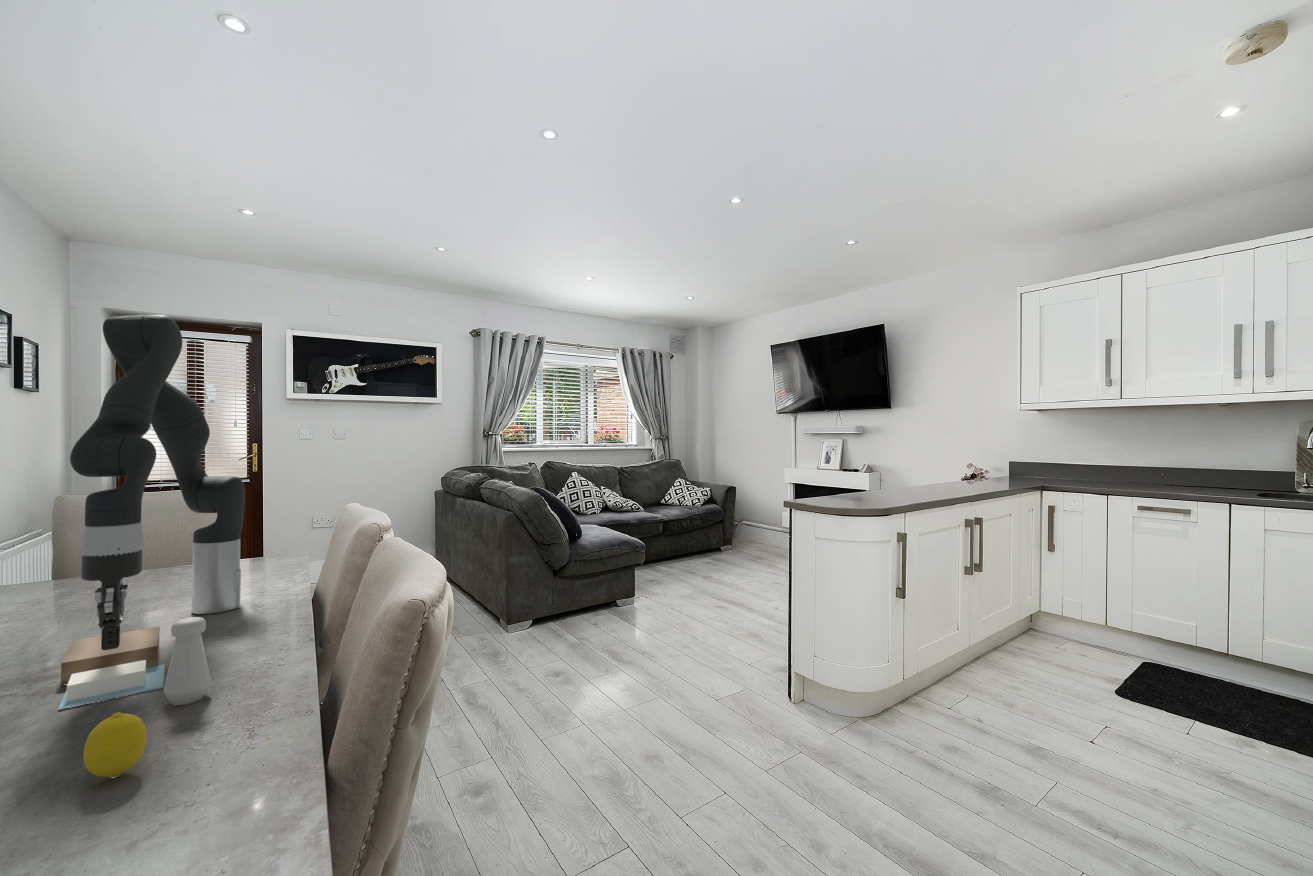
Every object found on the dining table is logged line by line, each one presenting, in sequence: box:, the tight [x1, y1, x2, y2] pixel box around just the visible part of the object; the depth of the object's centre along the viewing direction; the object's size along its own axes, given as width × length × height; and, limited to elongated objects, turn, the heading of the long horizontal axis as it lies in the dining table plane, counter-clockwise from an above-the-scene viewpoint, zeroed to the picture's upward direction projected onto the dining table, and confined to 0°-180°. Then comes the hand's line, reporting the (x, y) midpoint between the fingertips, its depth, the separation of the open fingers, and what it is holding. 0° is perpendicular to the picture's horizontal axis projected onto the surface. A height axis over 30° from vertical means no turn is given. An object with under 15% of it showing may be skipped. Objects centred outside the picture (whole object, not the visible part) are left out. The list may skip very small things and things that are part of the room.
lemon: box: [83, 711, 148, 779], centre depth 66 cm, size 6×6×8 cm
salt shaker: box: [163, 616, 212, 707], centre depth 87 cm, size 6×6×13 cm
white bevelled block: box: [66, 660, 146, 702], centre depth 90 cm, size 9×6×2 cm, turn 133°
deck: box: [60, 626, 161, 686], centre depth 100 cm, size 12×14×4 cm
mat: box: [57, 664, 166, 711], centre depth 91 cm, size 12×12×1 cm
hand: (110, 648), depth 94 cm, fingers closed
